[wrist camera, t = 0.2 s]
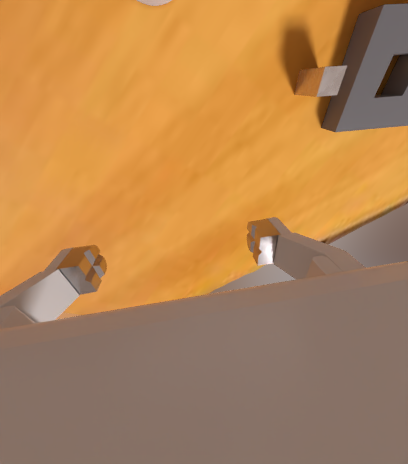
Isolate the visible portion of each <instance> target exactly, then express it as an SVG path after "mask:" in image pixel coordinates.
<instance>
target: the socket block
mask: <svg viewBox="0 0 408 464" xmlns="http://www.w3.org/2000/svg"><path fill="white" fill-rule="evenodd" d="M397 55H400V56H399V58H398V60H397V62H396V64H395V67H394V69H393V71H392V73H391V75H390V77H389V79H388V81H387V83H386V85H385V88H384V90H383V92H382V94H381V95H375V94H376V92H377V90H378V88H379V86H380V84H381V81H382V79H383V77H384V75H385V73H386V70H387V68H388V66H389V64H390V62H391V60H392V57H393V56H397ZM342 66H347V68H346V71H345V74H344V77H343V80H342V82H341V85H340V88H339V91H338V94H337V95H332V97H331V100H330V103H329V106H328V109H327V112H326V115H325V118H324V121H323V124H322V127H321V128H323V129H327V130H330V131H333V132H342V131H353V130H364V129H375V128H386V127H397V126H408V4H387V5H382V6H379V7H376V8H374V9H371V10H369V11H366V12H363V13H361V14H359V16H358V19H357V22H356V25H355V28H354V31H353V34H352V37H351V40H350V43H349V46H348V49H347V52H346V55H345V58H344V61H343V64H342Z"/></svg>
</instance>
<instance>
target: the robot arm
mask: <svg viewBox="0 0 408 464" xmlns="http://www.w3.org/2000/svg"><path fill="white" fill-rule="evenodd" d="M137 1H139V2H141V3H144V4H147V5H152V6H158V5H163V4H166V3H168V2H170V1H171V0H137ZM247 229H248V231H249V233H248V234H247V244H248V248H249V250H250V251H251V252H253V258H254V259H255V261H256V263H257V265H264V264H271V263H274V265H276V266H277V267H279V268H280V269H282V270H283V271H285V272H286V273H288V274H289V275H290V276H292V277H294V278H295V279H296V280H291V281H285V282H279V283H273V284H267V285H262V286H256V287H250V288H244V289H238V290H232V291H225V292H219V293H213V294H207V295H201V296H195V297H189V298H183V299H177V300H171V301H165V302H159V303H153V304H147V305H141V306H135V307H129V308H123V309H117V310H112V311H106V312H100V313H94V314H88V315H82V316H76V317H70V318H64V319H58V320H55V319H56V318H57V317H58V316H59V315H60V314H61V313H62V312H63V311H64V310H65V309H66V308H67V307H68V306H69V305H70V304H71V303H72V302H73V301H74V300H75V299H77V298H78V297H79V295H80V294H85V293H91V292H96V291H97V290H98V288H99V285H100V283H101V279H100V278H101V277H102V276H103V275H104V274H105V272H106V269H107V264H106V260H105V259H104V257H103V256H101V255H99V253H100V250H99V248H98V247H97V246H95V245H90V246H82V247H75V248H68V249H64V250H62V251H61V252H60V253H59V254H58V255H57V256H56V258H55V259H54V260H53V261H52V262H51V263H50V265H49V266H48V267H47V268H46V269H45V270H44V271H43V272H39V273H38V274H36V275H34V276H33V277H31V278H29V279H28V280H26V281H24V282H23V283H21V284H19V285H18V286H16V287H15V288H13V289H11V290H10V291H8V292H6V293H5V294H3V295H1V296H0V464H408V261H405V262H399V263H393V264H387V265H381V266H375V267H369V268H366V267H364V266H363V265H362V264H361V263H359V262H358V261H357V260H356V259H355V258H353V257H352V256H351V255H350V254H348V253H347V252H346V251H344V250H341V249H338V248H336V247H333V246H330V245H327V244H325V243H322V242H319V241H316V240H314V239H311V238H308V237H305V236H303V235H300V234H297V233H291V232H290V231H289V230H288V229H287V227H286V226H285V225H284V224H283V223H282V222H281V221H280V220H279V219H278V218H276V217H273V218H268V219H263V220H257V221H251V222H248V225H247Z"/></svg>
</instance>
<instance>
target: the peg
mask: <svg viewBox="0 0 408 464" xmlns="http://www.w3.org/2000/svg"><path fill="white" fill-rule="evenodd" d="M346 68H347V66H332V67H320V68H312V69H303V70H300V71H299V75H298V80H297V84H296V89H295V93H294V95H303V96H314V97H319V96H332V95H337V94H338V91H339V88H340V85H341V82H342V80H343V77H344V74H345V71H346Z"/></svg>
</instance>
